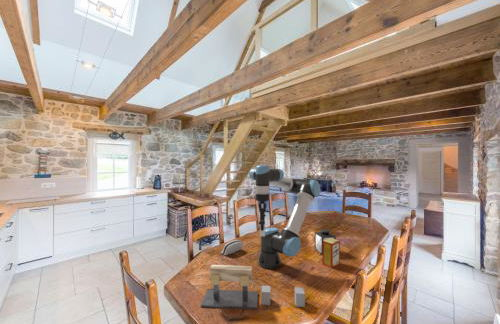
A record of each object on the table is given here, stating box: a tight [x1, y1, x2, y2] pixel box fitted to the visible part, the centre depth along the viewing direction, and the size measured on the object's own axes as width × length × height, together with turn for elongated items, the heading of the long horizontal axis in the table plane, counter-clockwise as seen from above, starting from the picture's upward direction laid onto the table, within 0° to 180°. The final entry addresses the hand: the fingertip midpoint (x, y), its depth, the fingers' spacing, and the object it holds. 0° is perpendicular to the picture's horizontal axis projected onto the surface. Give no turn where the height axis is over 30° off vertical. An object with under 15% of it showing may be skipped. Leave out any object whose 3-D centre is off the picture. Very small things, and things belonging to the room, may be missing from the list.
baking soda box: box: [322, 238, 341, 269], centre depth 138 cm, size 10×6×16 cm
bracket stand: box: [200, 274, 259, 311], centre depth 101 cm, size 12×26×14 cm, turn 86°
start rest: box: [261, 285, 306, 308], centre depth 99 cm, size 5×20×6 cm, turn 86°
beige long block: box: [209, 264, 253, 283], centre depth 101 cm, size 4×20×6 cm, turn 86°
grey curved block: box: [220, 239, 244, 256], centre depth 156 cm, size 17×5×10 cm, turn 134°
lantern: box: [314, 214, 337, 256], centre depth 159 cm, size 11×11×28 cm
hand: (262, 232), depth 114 cm, fingers open, 13 cm apart
